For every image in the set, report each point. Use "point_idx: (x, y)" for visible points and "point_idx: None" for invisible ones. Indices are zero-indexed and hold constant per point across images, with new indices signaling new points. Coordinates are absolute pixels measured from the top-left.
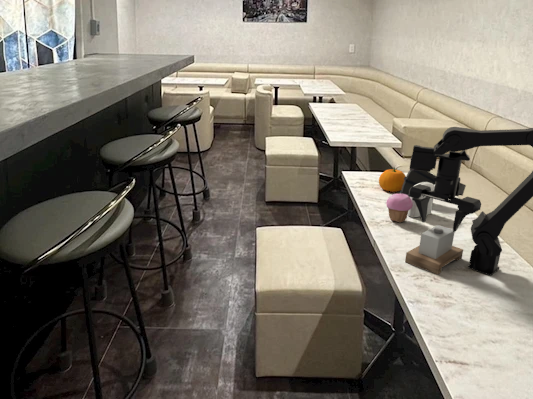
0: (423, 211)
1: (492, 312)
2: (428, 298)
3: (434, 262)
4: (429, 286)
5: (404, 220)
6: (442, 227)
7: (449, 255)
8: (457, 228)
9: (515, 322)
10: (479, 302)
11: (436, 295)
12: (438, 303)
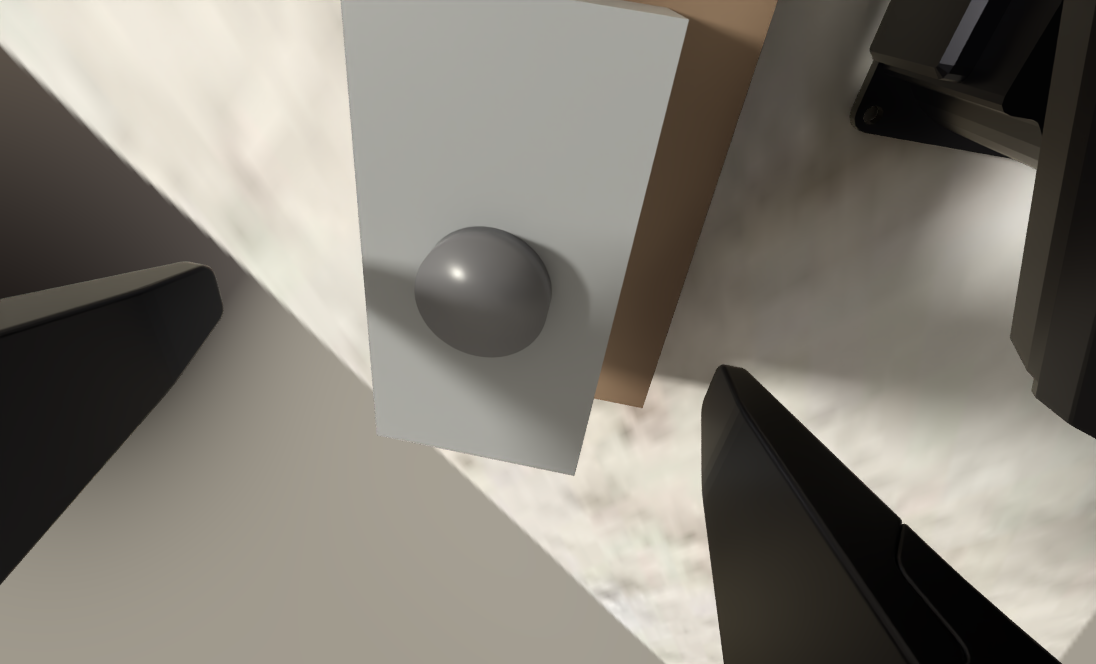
0: (50, 483)
1: (951, 552)
2: (659, 559)
3: (602, 395)
4: (636, 485)
5: None
6: (458, 50)
7: (678, 207)
8: (772, 397)
9: (1055, 577)
10: (895, 509)
11: (685, 532)
12: (705, 573)
